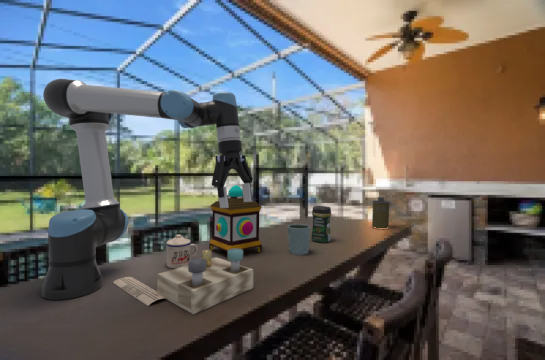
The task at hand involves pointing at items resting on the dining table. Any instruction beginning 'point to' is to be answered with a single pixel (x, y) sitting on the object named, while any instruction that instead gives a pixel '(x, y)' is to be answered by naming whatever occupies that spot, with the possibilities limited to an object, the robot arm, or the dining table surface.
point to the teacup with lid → (179, 252)
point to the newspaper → (138, 290)
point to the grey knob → (197, 270)
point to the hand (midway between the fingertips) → (236, 204)
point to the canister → (380, 213)
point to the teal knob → (235, 259)
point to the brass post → (207, 257)
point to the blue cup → (298, 238)
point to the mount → (204, 285)
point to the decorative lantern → (235, 223)
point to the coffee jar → (321, 224)
